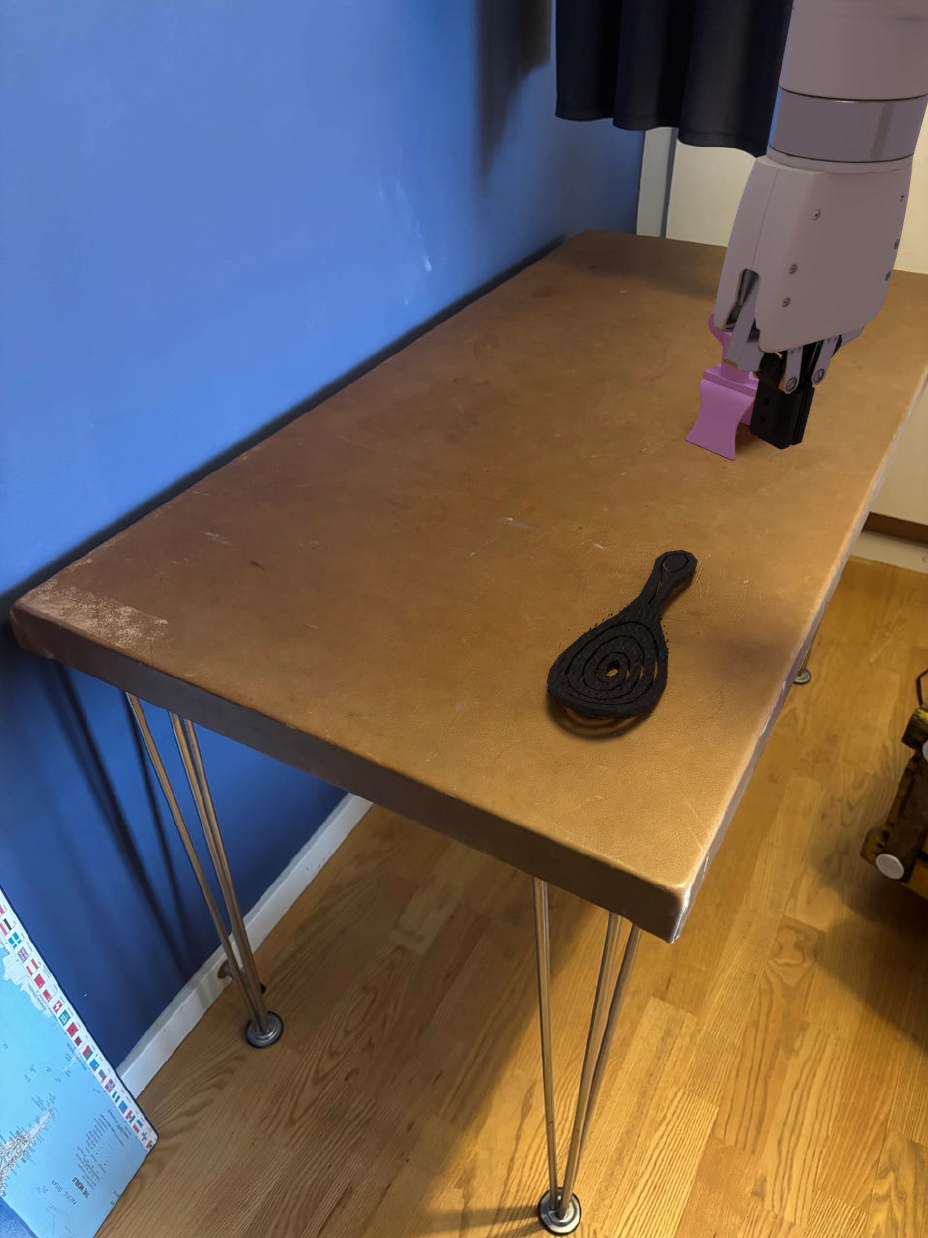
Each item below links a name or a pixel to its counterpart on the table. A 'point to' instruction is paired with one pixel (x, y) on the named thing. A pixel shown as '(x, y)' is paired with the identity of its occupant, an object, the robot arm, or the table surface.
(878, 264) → the robot arm
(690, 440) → the chair
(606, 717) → the hairbrush
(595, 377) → the table surface
